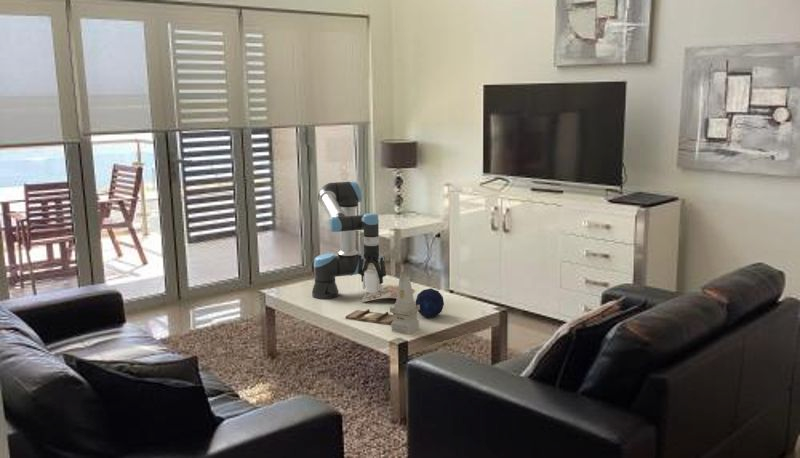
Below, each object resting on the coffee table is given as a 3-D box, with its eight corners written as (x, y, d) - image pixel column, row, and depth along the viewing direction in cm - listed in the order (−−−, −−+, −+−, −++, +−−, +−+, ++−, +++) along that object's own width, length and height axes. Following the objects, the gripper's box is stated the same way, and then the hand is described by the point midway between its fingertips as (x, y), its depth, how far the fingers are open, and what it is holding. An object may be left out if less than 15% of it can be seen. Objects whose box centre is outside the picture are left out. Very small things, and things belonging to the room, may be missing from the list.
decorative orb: (454, 307, 353) (441, 281, 358) (434, 313, 343) (420, 286, 347) (438, 318, 363) (425, 293, 367) (417, 325, 353) (405, 299, 357)
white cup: (383, 290, 352) (383, 271, 350) (372, 294, 346) (372, 274, 344) (372, 288, 357) (371, 269, 355) (361, 291, 351) (360, 272, 350)
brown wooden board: (345, 318, 354) (345, 314, 354) (357, 312, 365) (357, 307, 364) (389, 324, 343) (389, 320, 343) (400, 318, 354) (400, 313, 353)
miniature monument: (390, 331, 333) (389, 270, 328) (401, 325, 342) (400, 265, 337) (409, 334, 328) (408, 273, 323) (420, 328, 337) (419, 268, 332)
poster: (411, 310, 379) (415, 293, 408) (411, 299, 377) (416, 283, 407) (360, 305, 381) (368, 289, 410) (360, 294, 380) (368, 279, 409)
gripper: (349, 244, 348) (350, 288, 352) (386, 247, 340) (387, 292, 344) (357, 241, 355) (358, 285, 359) (393, 244, 346) (393, 289, 350)
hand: (372, 288), depth 351 cm, fingers closed on white cup, 8 cm apart
